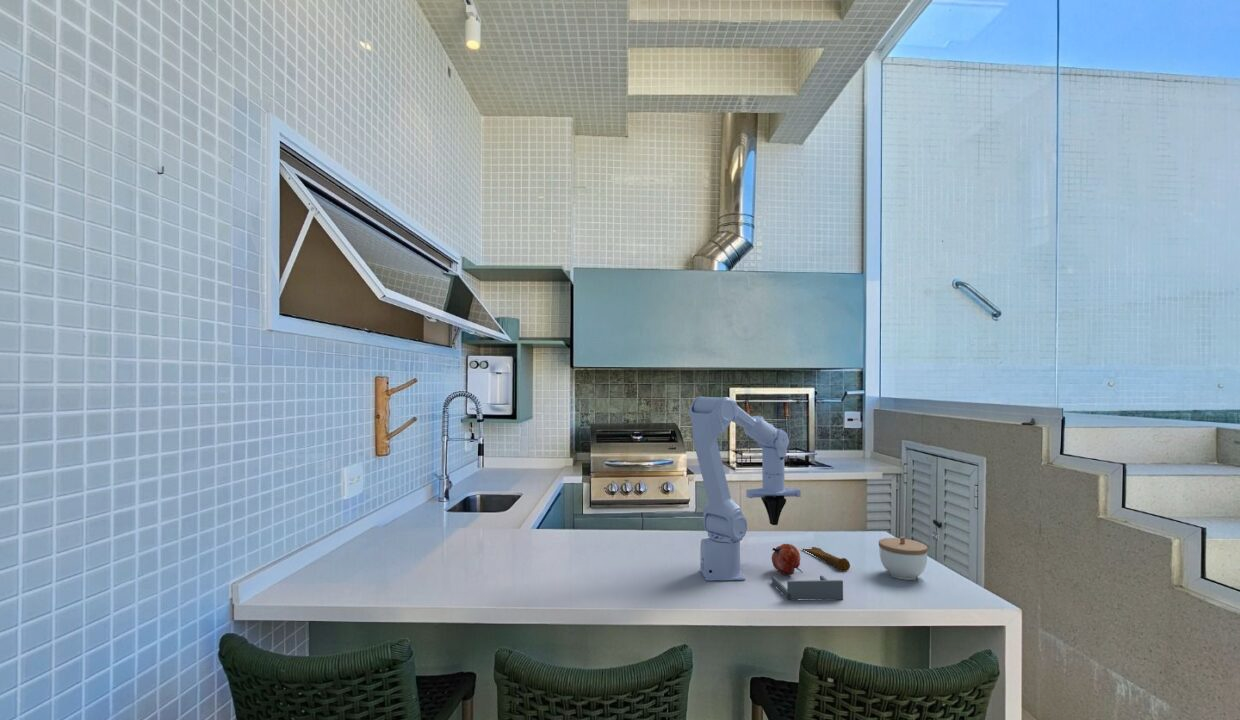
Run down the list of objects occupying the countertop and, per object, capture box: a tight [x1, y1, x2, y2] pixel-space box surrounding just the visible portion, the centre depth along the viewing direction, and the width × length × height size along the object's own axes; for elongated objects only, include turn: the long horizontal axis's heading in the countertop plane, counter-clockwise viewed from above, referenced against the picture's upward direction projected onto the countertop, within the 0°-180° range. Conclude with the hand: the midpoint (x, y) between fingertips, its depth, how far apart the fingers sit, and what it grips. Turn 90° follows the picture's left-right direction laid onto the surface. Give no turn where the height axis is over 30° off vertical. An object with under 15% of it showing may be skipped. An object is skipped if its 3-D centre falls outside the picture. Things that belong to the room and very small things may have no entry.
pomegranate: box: [771, 543, 802, 576], centre depth 137 cm, size 7×7×10 cm
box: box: [771, 575, 844, 601], centre depth 125 cm, size 12×11×4 cm
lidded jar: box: [878, 536, 928, 581], centre depth 136 cm, size 11×11×9 cm
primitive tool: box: [802, 546, 851, 572], centre depth 148 cm, size 19×6×4 cm, turn 11°
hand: (773, 524), depth 147 cm, fingers closed
